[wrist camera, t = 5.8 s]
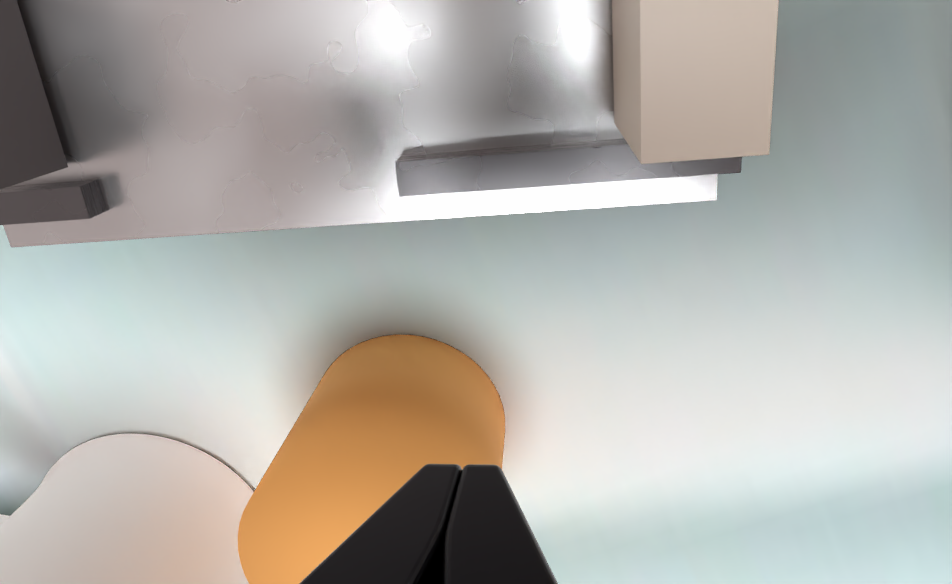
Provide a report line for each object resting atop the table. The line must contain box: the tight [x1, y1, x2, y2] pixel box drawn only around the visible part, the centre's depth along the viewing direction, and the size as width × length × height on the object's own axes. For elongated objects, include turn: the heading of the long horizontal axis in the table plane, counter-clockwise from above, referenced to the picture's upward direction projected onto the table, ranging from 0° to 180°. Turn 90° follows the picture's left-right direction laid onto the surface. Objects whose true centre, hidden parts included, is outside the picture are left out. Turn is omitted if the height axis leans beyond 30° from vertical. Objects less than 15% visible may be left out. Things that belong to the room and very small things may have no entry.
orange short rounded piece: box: [238, 335, 505, 584], centre depth 19 cm, size 6×6×6 cm
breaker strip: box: [0, 0, 742, 247], centre depth 16 cm, size 18×8×3 cm, turn 96°
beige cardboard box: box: [612, 0, 779, 164], centre depth 13 cm, size 2×4×4 cm, turn 6°
